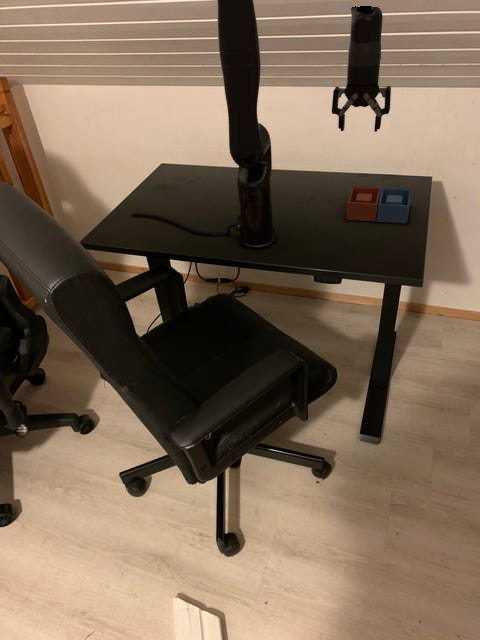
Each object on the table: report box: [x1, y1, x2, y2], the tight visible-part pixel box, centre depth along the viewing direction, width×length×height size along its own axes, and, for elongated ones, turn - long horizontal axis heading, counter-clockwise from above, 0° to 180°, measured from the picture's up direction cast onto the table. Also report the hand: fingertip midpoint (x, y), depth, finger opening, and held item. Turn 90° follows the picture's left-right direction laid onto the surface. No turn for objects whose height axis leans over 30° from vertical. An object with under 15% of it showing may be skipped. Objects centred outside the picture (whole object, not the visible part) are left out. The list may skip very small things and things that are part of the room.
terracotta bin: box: [345, 185, 382, 222], centre depth 143 cm, size 9×11×6 cm
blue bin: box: [376, 187, 412, 225], centre depth 141 cm, size 9×11×6 cm
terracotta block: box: [356, 193, 372, 203], centre depth 143 cm, size 4×4×4 cm
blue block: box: [386, 195, 402, 205], centre depth 141 cm, size 4×4×4 cm
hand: (359, 130), depth 121 cm, fingers open, 8 cm apart
